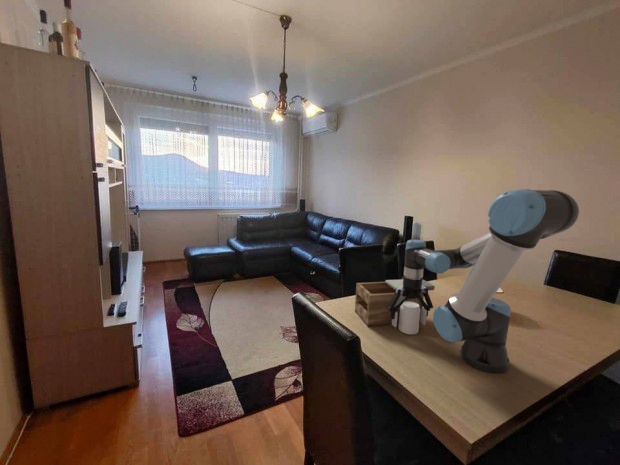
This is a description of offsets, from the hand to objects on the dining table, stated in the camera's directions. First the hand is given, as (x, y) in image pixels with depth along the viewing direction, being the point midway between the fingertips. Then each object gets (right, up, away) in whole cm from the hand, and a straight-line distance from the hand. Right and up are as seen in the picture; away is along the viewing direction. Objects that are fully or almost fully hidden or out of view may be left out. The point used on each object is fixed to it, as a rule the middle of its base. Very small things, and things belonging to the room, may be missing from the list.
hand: (408, 324), depth 125 cm
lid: (+5, +14, +13) cm, 20 cm away
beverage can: (0, -3, 0) cm, 3 cm away
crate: (-6, 0, +13) cm, 15 cm away
